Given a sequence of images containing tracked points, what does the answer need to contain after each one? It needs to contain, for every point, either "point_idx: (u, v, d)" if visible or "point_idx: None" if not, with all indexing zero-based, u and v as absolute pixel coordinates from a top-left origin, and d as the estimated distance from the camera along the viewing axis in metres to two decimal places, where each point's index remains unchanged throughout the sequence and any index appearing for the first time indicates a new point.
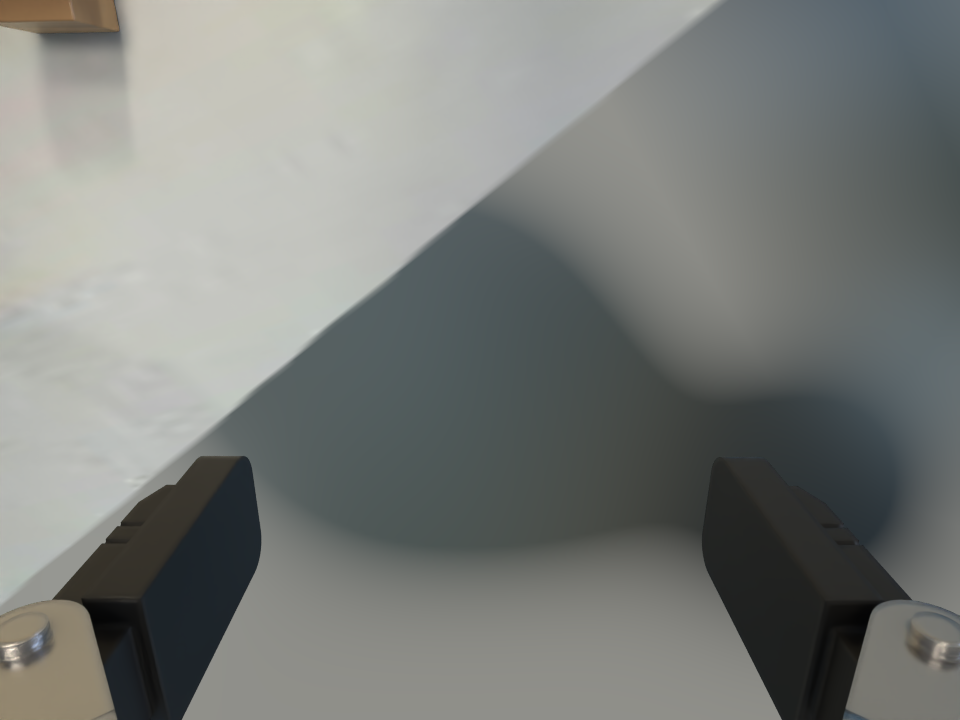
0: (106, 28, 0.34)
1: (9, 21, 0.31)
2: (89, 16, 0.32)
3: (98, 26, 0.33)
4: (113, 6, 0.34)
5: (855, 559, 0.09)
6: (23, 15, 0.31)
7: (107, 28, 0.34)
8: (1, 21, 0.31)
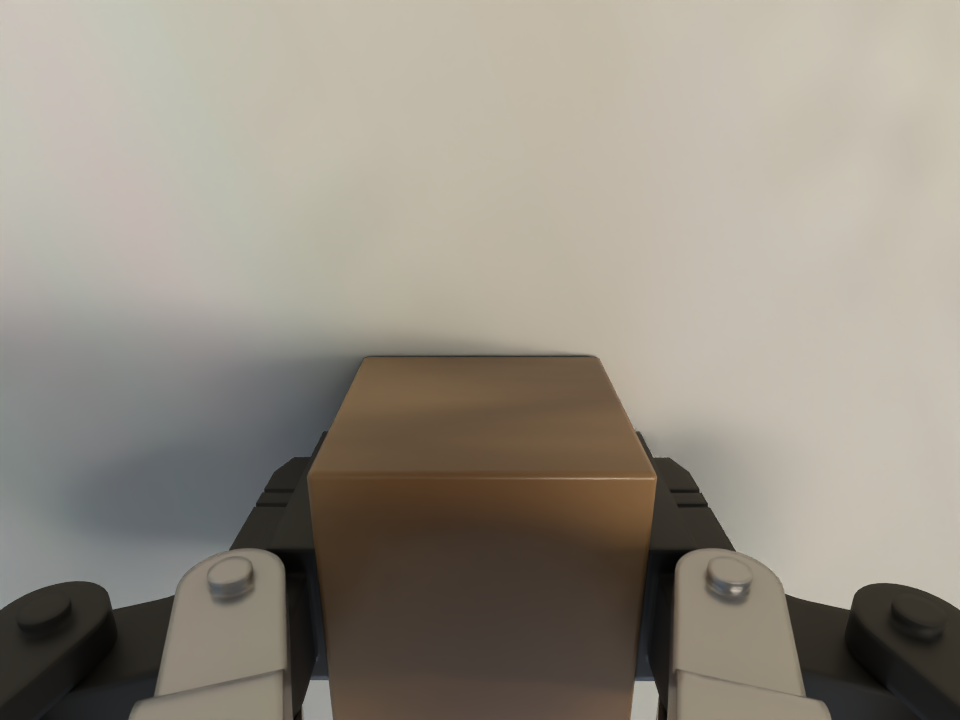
0: None
1: (317, 563, 0.08)
2: None
3: None
4: None
5: (698, 519, 0.10)
6: (340, 611, 0.09)
7: None
8: (315, 538, 0.08)
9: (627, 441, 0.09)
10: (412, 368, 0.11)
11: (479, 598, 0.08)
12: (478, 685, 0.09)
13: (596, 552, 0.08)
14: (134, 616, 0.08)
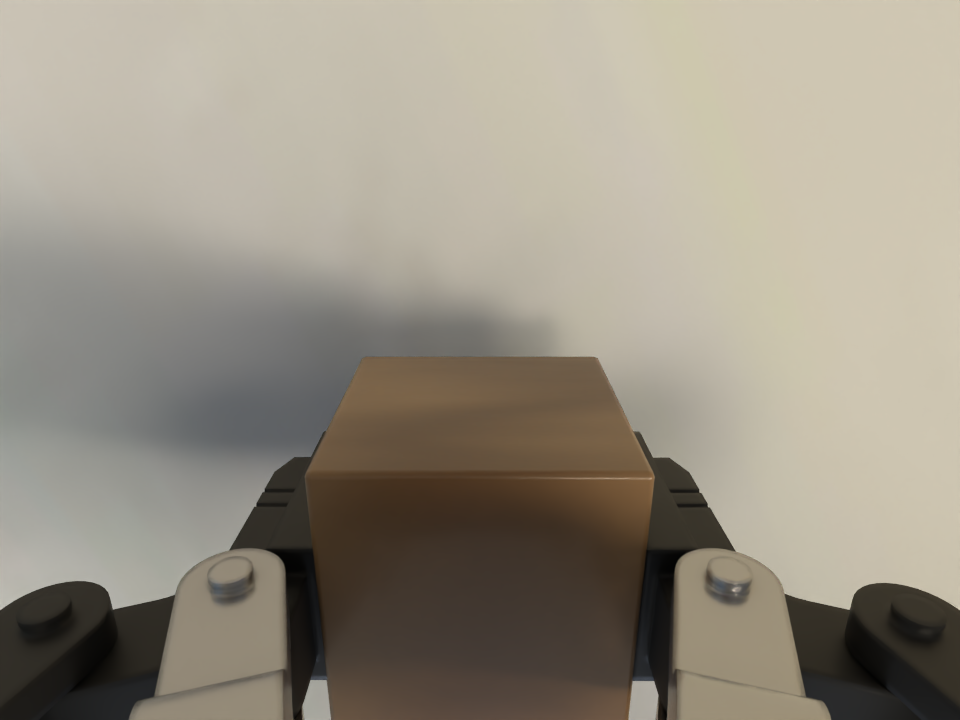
0: None
1: (315, 563, 0.08)
2: None
3: None
4: None
5: (698, 519, 0.10)
6: (338, 611, 0.09)
7: None
8: (312, 538, 0.08)
9: (625, 440, 0.09)
10: (410, 368, 0.11)
11: (476, 598, 0.08)
12: (476, 685, 0.09)
13: (594, 551, 0.08)
14: (134, 616, 0.08)
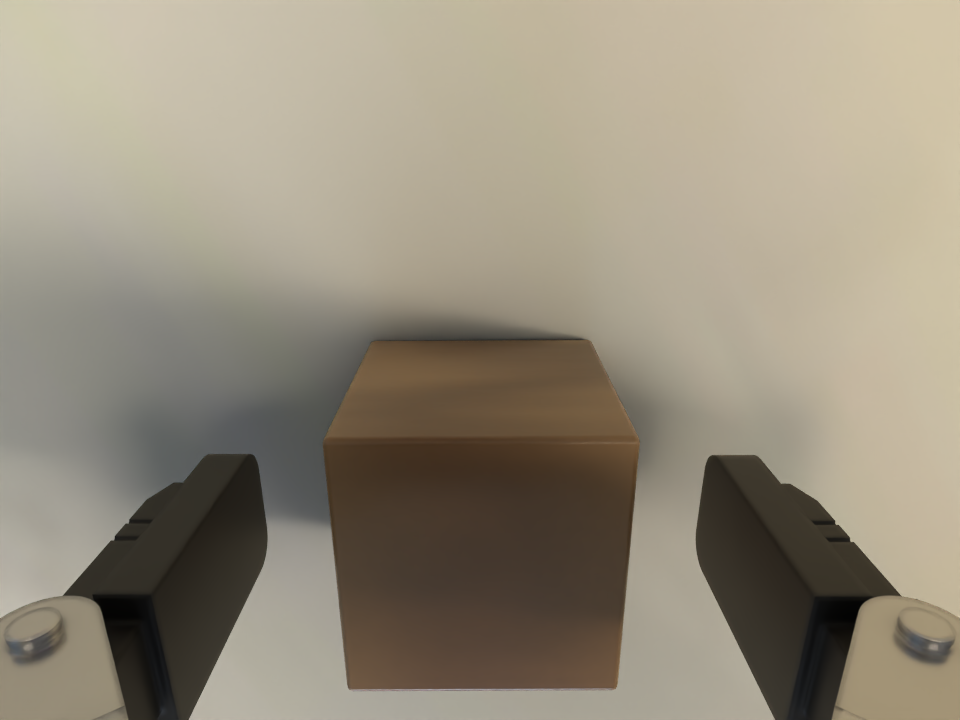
0: None
1: (331, 523, 0.09)
2: None
3: None
4: None
5: (846, 556, 0.09)
6: (352, 567, 0.09)
7: None
8: (329, 499, 0.09)
9: (614, 410, 0.09)
10: (416, 350, 0.12)
11: (478, 554, 0.09)
12: (479, 636, 0.10)
13: (585, 510, 0.09)
14: None
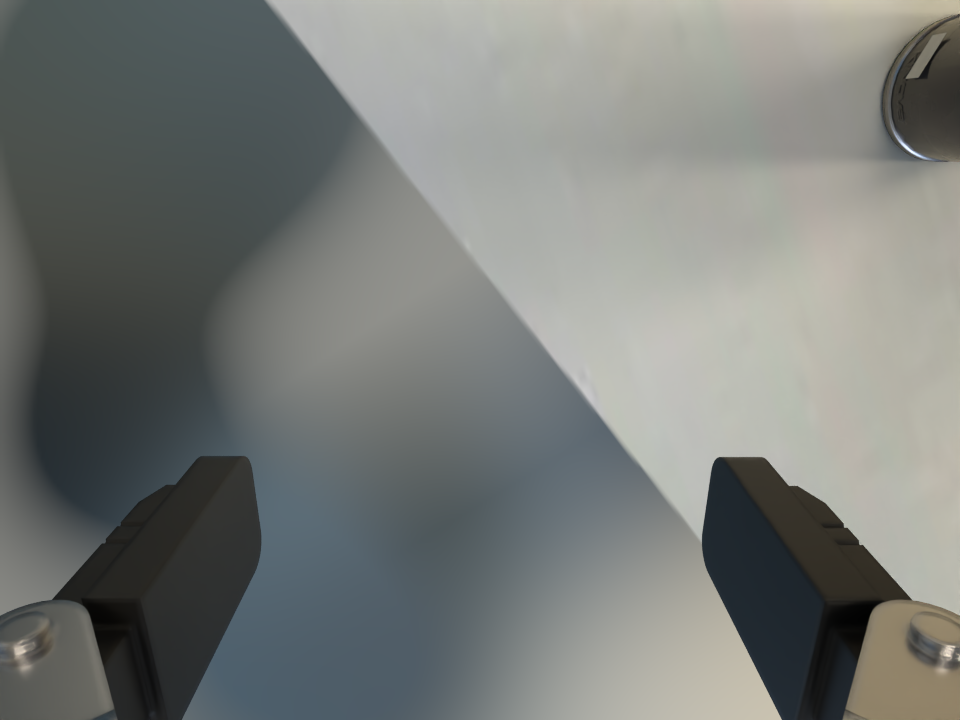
0: None
1: None
2: None
3: None
4: None
5: (855, 559, 0.09)
6: None
7: None
8: None
9: None
10: None
11: None
12: None
13: None
14: None
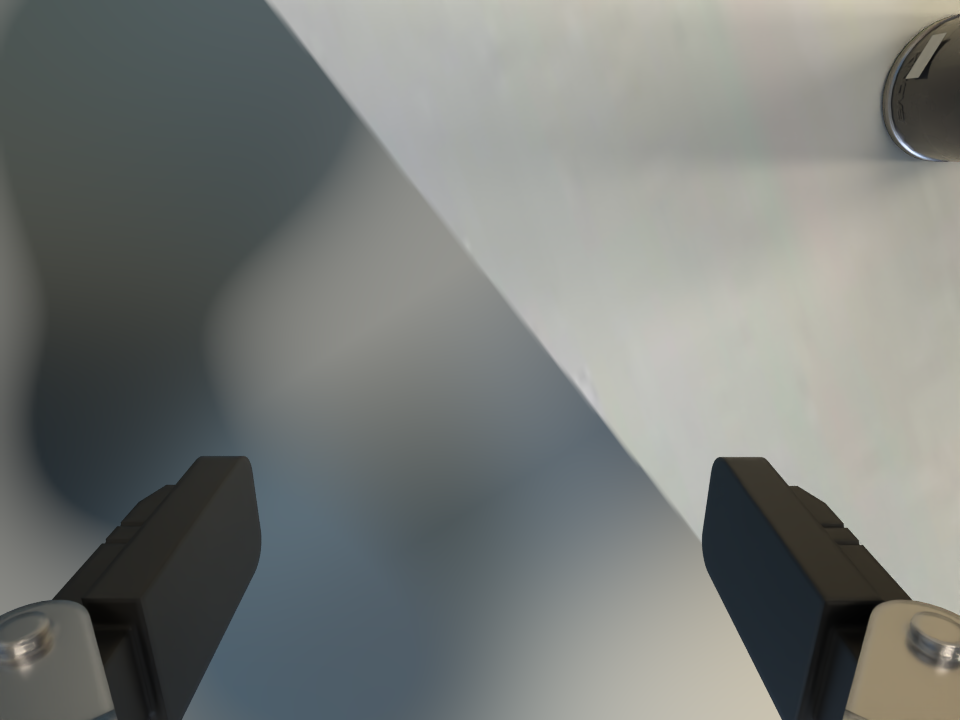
0: None
1: None
2: None
3: None
4: None
5: (855, 559, 0.09)
6: None
7: None
8: None
9: None
10: None
11: None
12: None
13: None
14: None
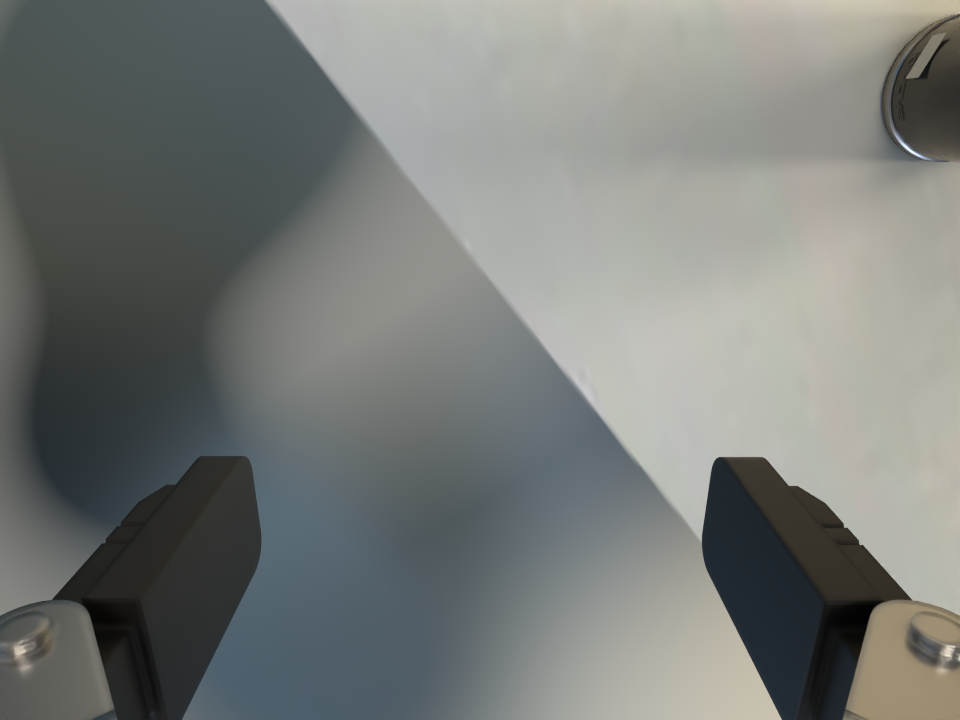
0: None
1: None
2: None
3: None
4: None
5: (855, 559, 0.09)
6: None
7: None
8: None
9: None
10: None
11: None
12: None
13: None
14: None
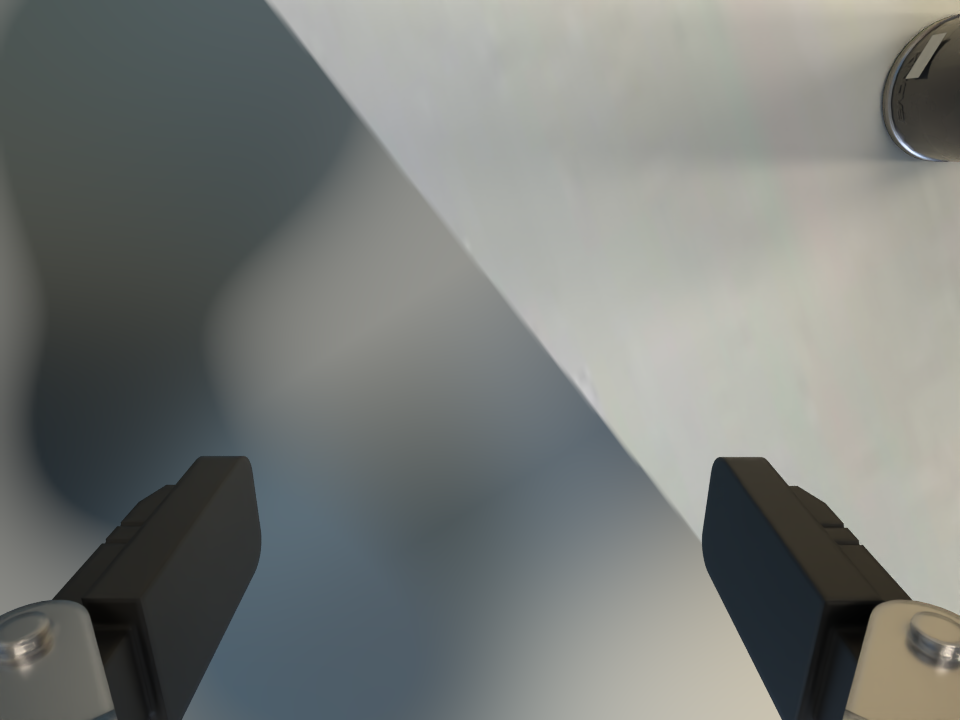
0: None
1: None
2: None
3: None
4: None
5: (855, 559, 0.09)
6: None
7: None
8: None
9: None
10: None
11: None
12: None
13: None
14: None
